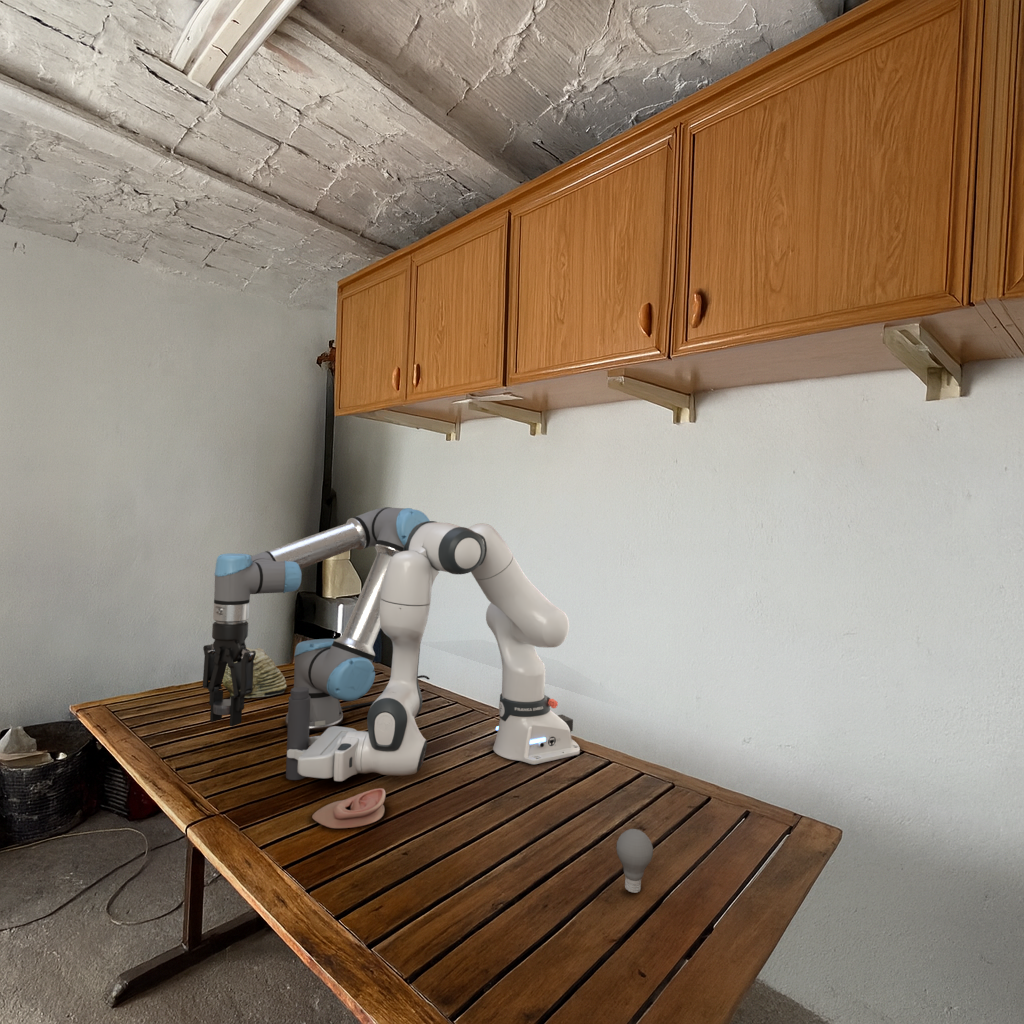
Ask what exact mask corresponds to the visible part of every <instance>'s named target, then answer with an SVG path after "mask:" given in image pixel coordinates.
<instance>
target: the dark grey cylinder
mask: <svg viewBox="0 0 1024 1024" xmlns="http://www.w3.org/2000/svg"><path fill="white" fill-rule="evenodd" d="M289 692H290V695H289V697H288V707H287V708H288V709H287V713H288V727H287V734H286V752H287V751H288V750H289V749H290V748H298V750H301V751H303V750H307V749H308V748H309V747H310V746H309V737H310V732H309V725H310V699H311V697H310V695H309V688H307V687H295V688H294V687H292V688H291V689H290V691H289ZM285 761H286V762H285V764H286V765H285V778H286V779H287V780H289V781H300V780H303V779H306V777H305V776H302V775H300V774H299V773H298V760H296V759H295V758H288V757H287V756H286V760H285Z"/></svg>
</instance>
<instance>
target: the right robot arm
mask: <svg viewBox="0 0 1024 1024" xmlns="http://www.w3.org/2000/svg"><path fill="white" fill-rule="evenodd" d="M405 549H406V551H405ZM440 572H446V573H449V574H452V575H467V574H470V573H471V575H472V577H473V578H474V580H475V581H476V583H477V584H478V586H479V588H480V590H481V591H482V592H483V594H484V596H485V597H486V599H487V600H488V601H489V602H490V603H489V604H488V606H487V608H486V612H485V621H486V625H487V627H488V628H489V629H490V631H491V632H492V634H493V636H494V638H495V641H496V643H497V646H498V650H499V654H500V660H501V669H502V670H501V693H500V694H499V703H498V716H499V721H498V726H496V727H495V731H496V737H495V740H494V743H493V746H492V750H493V752H494V753H495V755H498V756H500V757H501V758H504V759H507V760H511V761H516V762H517V761H519V762H523V763H526V764H529V765H538V764H544V763H547V762H551V761H557V760H561V759H565V758H570V757H574V756H579V755H580V753H581V748H580V745H579V744H578V743H577V742H576V741H575V740H574V739H573V738H572V733H571V732H573V731H574V730H573V729H574V719H573V718H571V717H568V716H566V715H564V714H557V713H555V712H554V711H553V710H551V708H552V709H556V708H557V707H558V705H559V703H558V701H557V700H555V699H554V698H551V697H550V696H548V695H546V694H545V691H546V671H547V670H546V665H545V663H544V662H543V660H542V659H541V657H540V656H539V655H538V652H537V649H536V648H549V649H550V648H557V647H560V646H561V645H562V644H563V643H564V642H565V641H566V639H567V638H568V636H569V632H570V619H569V617H568V614H567V613H566V612H565V611H564V610H562V609H561V608H559V607H558V606H557V605H555V604H553V602H552V601H550V600H549V599H548V598H547V597H546V596H545V595H544V594H543V593H542V592H541V591H540V589H538V587H536V586H535V584H534V583H533V582H532V581H530V579H529V578H528V577H527V575H526V573H524V571H523V569H522V567H521V565H520V564H519V562H518V561H517V558H516V557H515V555H514V554H513V552H512V550H511V549H510V547H509V545H508V544H507V542H506V541H505V540H504V538H503V537H502V535H500V533H499V532H498V531H497V530H496V529H495V528H494V527H493V526H492V525H490V524H488V523H484V522H482V523H475V524H473V525H471V526H469V527H465V526H460V525H457V524H454V523H450V522H440V521H436V520H430V521H427V522H422V523H420V524H418V525H416V526H415V527H414V528H413V529H412V531H411V532H410V534H409V536H408V539H407V542H406V544H405V545H404V547H403V551H402V552H399V553H396V554H395V555H394V556H393V557H392V558H391V559H390V561H389V564H388V567H387V570H386V574H385V578H384V582H383V587H382V592H381V599H380V609H379V617H380V627H381V628H380V630H382V632H383V634H385V635H386V636H387V637H388V638H389V639H390V640H391V643H392V658H391V668H390V677H389V680H388V683H387V685H386V686H385V688H384V689H383V691H382V692H381V693H380V695H379V696H378V697H377V698H376V699H375V700H373V701H374V703H373V704H370V707H369V709H368V712H367V716H366V723H367V731H365V730H357V729H355V728H352V727H347V726H340V725H339V726H332V727H329V728H328V729H327V730H325V731H323V733H321V734H320V735H313V736H309V748H308V749H307V750H303V751H301V750H298V748H290V749H289V750H288V751H287V750H286V758H287V757H288V758H295V759H296V760H298V773H299V774H300V775H302V776H305V778H314V779H332V778H333V781H334V782H343V781H346V780H347V779H348V778H351V777H352V776H355V775H358V774H370V773H375V774H376V773H377V774H379V775H383V776H412V775H414V774H416V773H418V772H419V771H420V770H421V768H422V766H423V763H424V760H425V758H426V754H427V750H428V749H427V748H428V741H427V739H426V738H425V737H424V736H423V734H422V732H421V731H420V729H419V727H418V724H417V722H416V718H417V717H418V716H419V714H420V713H421V710H422V708H423V702H424V701H423V694H422V691H421V688H420V685H419V678H418V676H419V664H420V653H421V643H422V639H423V637H424V633H425V629H426V628H427V623H428V619H429V614H430V608H431V601H432V590H433V589H432V588H433V584H434V582H435V580H436V578H437V577H438V575H439V574H440Z"/></svg>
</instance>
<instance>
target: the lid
mask: <svg viewBox="0 0 1024 1024" xmlns="http://www.w3.org/2000/svg"><path fill="white" fill-rule="evenodd" d="M230 708H231V698H225V699H224V698H223V700H219V701H216V702H214V705H213V713H214V714H216V715H222V716H230Z"/></svg>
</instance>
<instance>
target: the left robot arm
mask: <svg viewBox="0 0 1024 1024" xmlns="http://www.w3.org/2000/svg"><path fill="white" fill-rule="evenodd" d="M427 521H431V520H430V519H429V517H428V515H426V514H425V513H424V512H423V511H421V510H418V509H413V508H411V507H406V508H404V507H390V506H386V507H385V506H383V507H379V508H375V509H372V510H369V511H367V512H364V513H361V514H359V515H357V516H353V517H350V518H348V519H347V521H346V522H345V523H344V524H341V525H337V526H335V527H332V528H329V529H327V530H323V531H321V532H318V533H315V534H312V535H309V536H306V537H303V538H300V539H297V540H295V541H292V542H289V543H285V544H283V545H280V546H277V547H273V548H271V549H268V550H265V551H263V552H259V553H257V554H253V555H251V554H248V553H233V552H232V553H231V552H230V553H227V552H226V553H221V554H220V555H219V554H218V556H217V558H216V563H215V568H214V595H213V596H214V597H213V611H212V612H213V614H212V620H213V621H214V622H213V623H212V627H211V628H212V631H211V638H212V639H213V642H212V643H210V644H205V645H203V648H202V649H203V655H204V659H203V673H202V674H203V675H202V688H203V689H207V691H208V692H209V699H208V701H209V702H208V703H209V706H210V713H209V714H210V715H209V722H212V723H213V722H216V721H219V720H221V719H223V715H216V714H214V713H213V705H214V702H216V701H219V700H224V689H223V688H224V686H222V685H223V677H224V673H225V669H226V667H227V663H228V667H229V668H230V671H231V677H232V684H233V691H234V695H233V696H232V697H231V698H230V699H231V708H230V715H229V727H235V726H238V725H239V724H242V715H243V711H244V710H245V709H244V708H245V698H244V697H245V695H248V694H251V693H252V691H253V663H254V658H255V655H256V652H255V651H249V650H248V649H246V647H247V645H246V640H247V638H248V636H249V635H248V634H249V622H248V621H247V620H249V618H250V601H251V600H250V599H251V595H258V594H261V595H262V594H285V593H293V592H295V591H297V590H298V589H299V588H300V586H301V583H302V569H304V568H306V567H309V566H311V565H315V564H318V563H320V562H322V561H326V560H328V559H331V558H333V557H336V556H338V555H341V554H345V553H346V552H349V551H352V550H358V551H361V550H364V549H367V548H372V547H374V549H375V551H376V556H375V558H374V560H373V563H372V565H371V567H370V570H369V572H368V575H367V577H366V579H365V581H364V584H363V586H362V589H361V591H360V593H359V596H358V598H357V600H356V603H355V605H354V607H353V610H352V612H351V615H350V617H349V619H348V621H347V624H346V626H345V628H344V630H343V633H342V635H341V636H339V637H337V638H319V639H308V640H303V641H300V642H297V644H296V646H295V650H294V655H293V657H294V672H293V688H295V687H307V688H309V695H310V697H311V699H310V725H309V733H316V732H325V731H326V730H327V729H328V728H329V727H332V726H339V727H340V725H342V723H343V722H344V714H343V710H346V709H352V708H357V707H363V706H369V705H370V706H371V705H372V704H373V703H374V701H375V700H372V701H366V702H360V703H355V704H348V705H343V706H341V702H340V701H343V702H353V701H357V700H359V699H360V698H362V697H363V696H365V695H366V694H367V693H368V692H369V691H370V689H372V686H373V684H374V682H375V680H376V679H375V678H376V671H375V666H374V664H373V662H374V660H375V658H376V653H375V651H374V644H375V642H376V640H377V638H378V635H379V632H380V631H381V627H380V617H379V609H380V599H381V592H382V587H383V582H384V578H385V574H386V570H387V567H388V564H389V561H390V559H391V558H392V557H393V556H394V555H395V554H396V553H399V552H402V551H403V547H404V545H405V544H406V542H407V539H408V536H409V534H410V532H411V531H412V529H413V528H414V527H415V526H416V525H418V524H420V523H422V522H427ZM405 551H406V549H405ZM242 655H243V656H242ZM234 662H236V663H234ZM422 678H424V679H426V680H430V677H429V676H427V675H423V674H421V675H418V679H422ZM222 689H223V690H222ZM239 690H240V691H239ZM285 726H286V728H288V712H287V713H286V715H285Z"/></svg>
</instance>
